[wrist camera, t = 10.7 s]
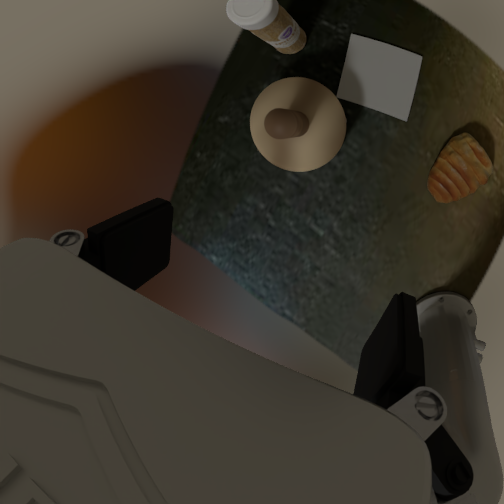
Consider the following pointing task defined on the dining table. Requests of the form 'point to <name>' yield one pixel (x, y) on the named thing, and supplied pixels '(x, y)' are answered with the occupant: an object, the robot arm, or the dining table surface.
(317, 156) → the lid
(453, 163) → the pastry
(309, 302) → the dining table surface
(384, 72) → the mat
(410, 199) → the dining table surface
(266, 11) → the sprinkles bottle
